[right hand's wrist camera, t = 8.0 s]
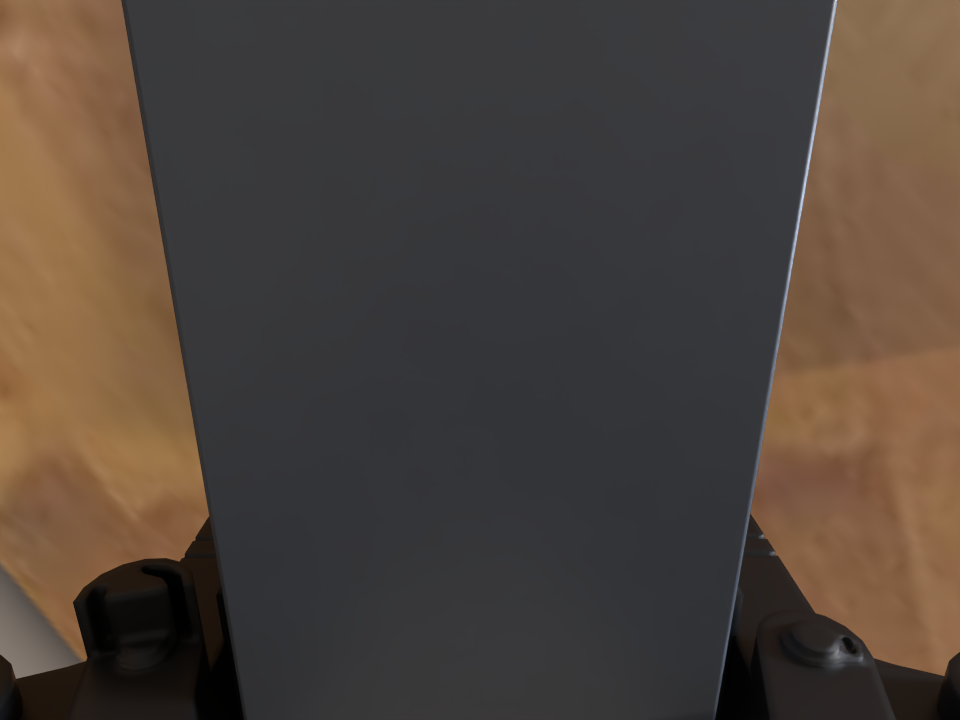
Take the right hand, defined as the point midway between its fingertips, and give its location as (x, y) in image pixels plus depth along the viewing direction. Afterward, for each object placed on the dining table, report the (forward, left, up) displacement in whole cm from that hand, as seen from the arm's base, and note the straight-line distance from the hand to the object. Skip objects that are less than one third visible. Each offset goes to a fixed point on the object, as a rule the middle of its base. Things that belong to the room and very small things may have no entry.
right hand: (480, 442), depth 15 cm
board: (-2, -18, -1) cm, 18 cm away
